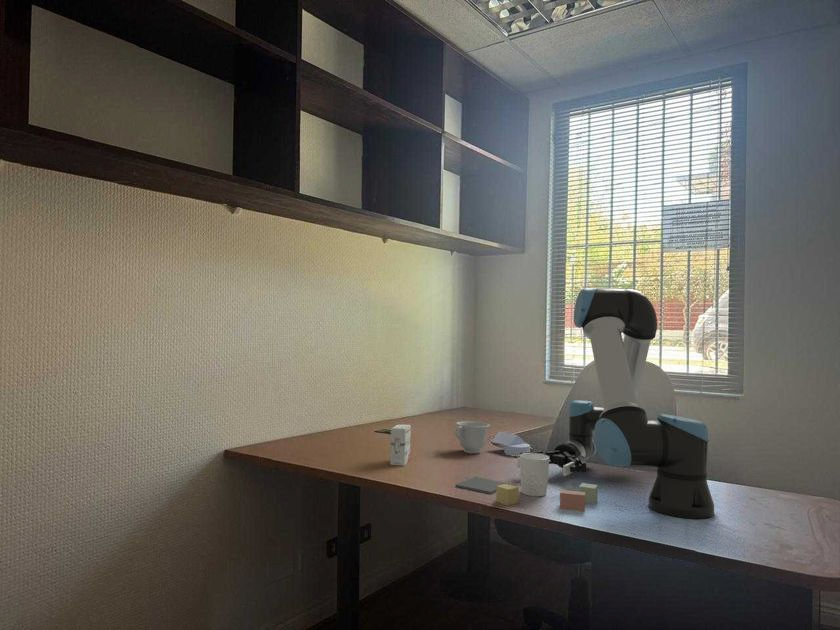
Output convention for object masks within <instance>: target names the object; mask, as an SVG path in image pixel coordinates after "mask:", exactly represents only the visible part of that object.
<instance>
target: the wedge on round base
mask: <svg viewBox="0 0 840 630" xmlns="http://www.w3.org/2000/svg"><path fill="white" fill-rule="evenodd" d="M491 443H495V444H499V445H504V447H503V454H504V453H505V454H507V455H506V456H508V455H515V456H516V455H517V456H518V455H520V453H521V452H531V444H529V443H527V442H525V441H524V440H523V439H522V438H521V437H520V436H519V435H518V434H515V433H510V432H504V431H500V430H499V432H498V433H497V434H496V435H495V436H494V438H493V439H492V440H491ZM505 454H504V455H505Z"/></svg>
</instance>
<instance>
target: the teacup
mask: <svg viewBox="0 0 840 630" xmlns="http://www.w3.org/2000/svg"><path fill="white" fill-rule="evenodd" d="M455 425H456V426H457V427H455V431H454V433H455V437H456V438H457V439H458V442H459V445H460V446H461V448H463V449H464V450H463V452H464V453H465V454H473V453H474V454H479V453H481V449H482V448H484V446H485V445H486V440H487V435H488V433H487V432H488V428H489V427H490V426H491V425H490V423H488V422H484V421H478V420H475V421H474V420H463V421H462V420H461V421H458V422H456V423H455Z"/></svg>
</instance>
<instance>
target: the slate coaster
mask: <svg viewBox="0 0 840 630" xmlns="http://www.w3.org/2000/svg"><path fill="white" fill-rule="evenodd" d="M503 484H510V483H508V482H503V481H499V480H494V479H488V478H485V477H484V478H483V477H478V476H474V477H471V478H468V479H466V480H464V481H461V482H459V483H455V487H456V488H461V489H465V490H469V491H474V492H480V493H484V494H489V495H493V494H494V493H496V486H499V485H503Z"/></svg>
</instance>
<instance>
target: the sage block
mask: <svg viewBox="0 0 840 630" xmlns="http://www.w3.org/2000/svg"><path fill="white" fill-rule="evenodd" d="M598 486H599V485H598V484H593V483H585V482H581V484H580V485H579V489H578V490H579V491H578V492H585V504H593V505H595V504H596V503H597V501H598V492H599V491H598V488H599V487H598Z"/></svg>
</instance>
